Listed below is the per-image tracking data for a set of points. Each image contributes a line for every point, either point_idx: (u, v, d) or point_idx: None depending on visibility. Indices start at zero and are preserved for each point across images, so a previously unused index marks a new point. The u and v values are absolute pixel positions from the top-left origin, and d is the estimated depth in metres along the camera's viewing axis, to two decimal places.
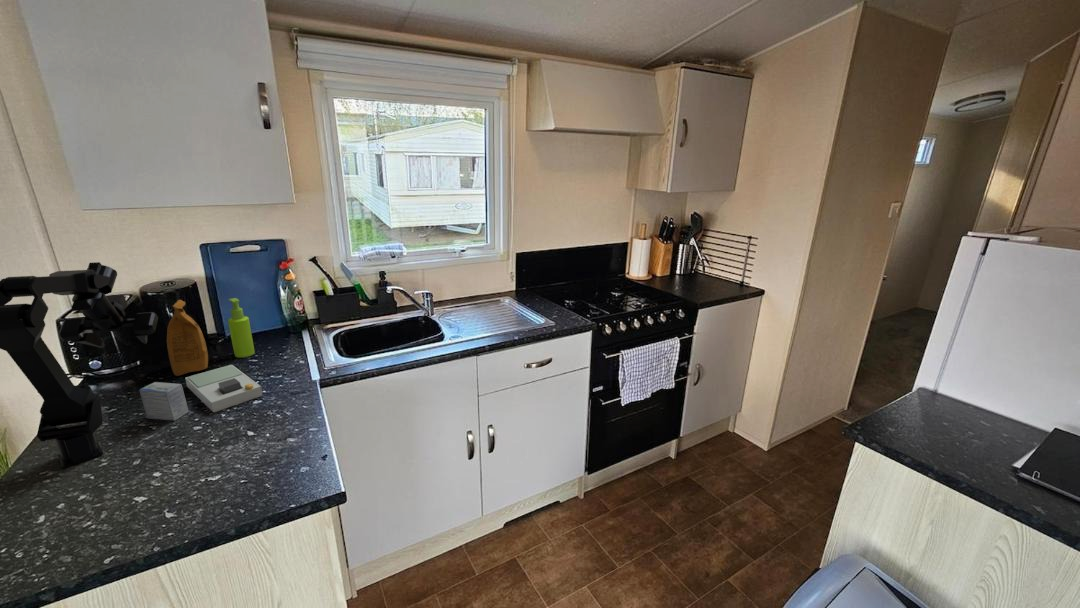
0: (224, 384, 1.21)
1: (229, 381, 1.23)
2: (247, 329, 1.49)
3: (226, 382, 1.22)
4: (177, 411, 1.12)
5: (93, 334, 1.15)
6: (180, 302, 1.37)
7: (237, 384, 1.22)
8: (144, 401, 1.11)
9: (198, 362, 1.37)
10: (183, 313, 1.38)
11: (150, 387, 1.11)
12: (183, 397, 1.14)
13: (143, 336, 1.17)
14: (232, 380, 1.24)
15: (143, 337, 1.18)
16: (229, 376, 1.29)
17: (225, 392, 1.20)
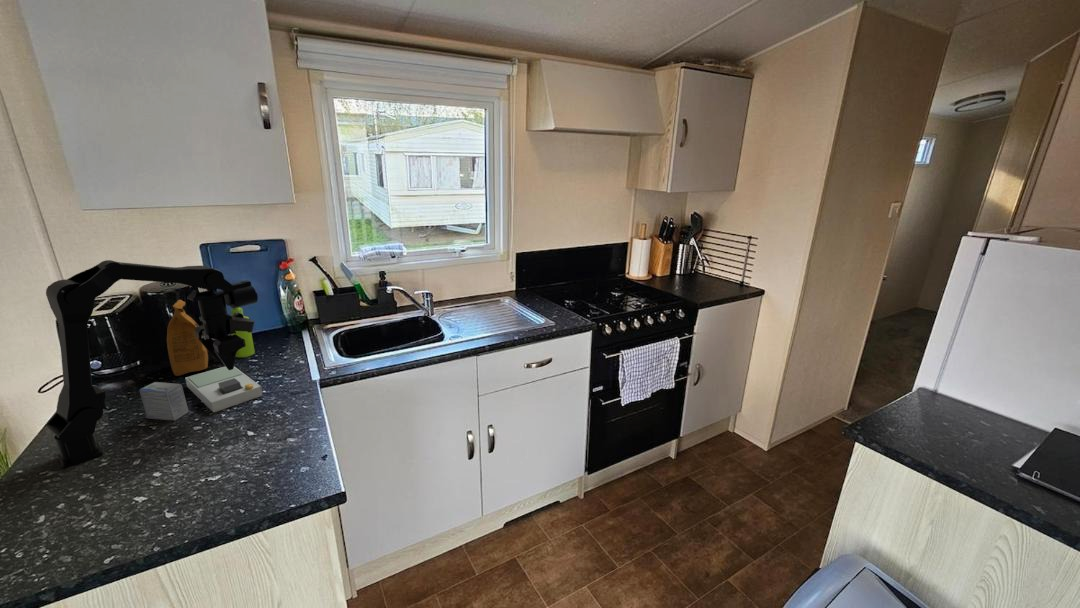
0: (224, 384, 1.21)
1: (229, 381, 1.23)
2: None
3: (226, 382, 1.22)
4: (177, 411, 1.12)
5: None
6: (180, 302, 1.37)
7: (237, 384, 1.22)
8: (144, 401, 1.11)
9: (198, 362, 1.37)
10: (183, 313, 1.38)
11: (150, 387, 1.11)
12: (183, 397, 1.14)
13: (217, 354, 1.14)
14: (232, 380, 1.24)
15: (218, 356, 1.14)
16: (229, 376, 1.29)
17: (225, 392, 1.20)
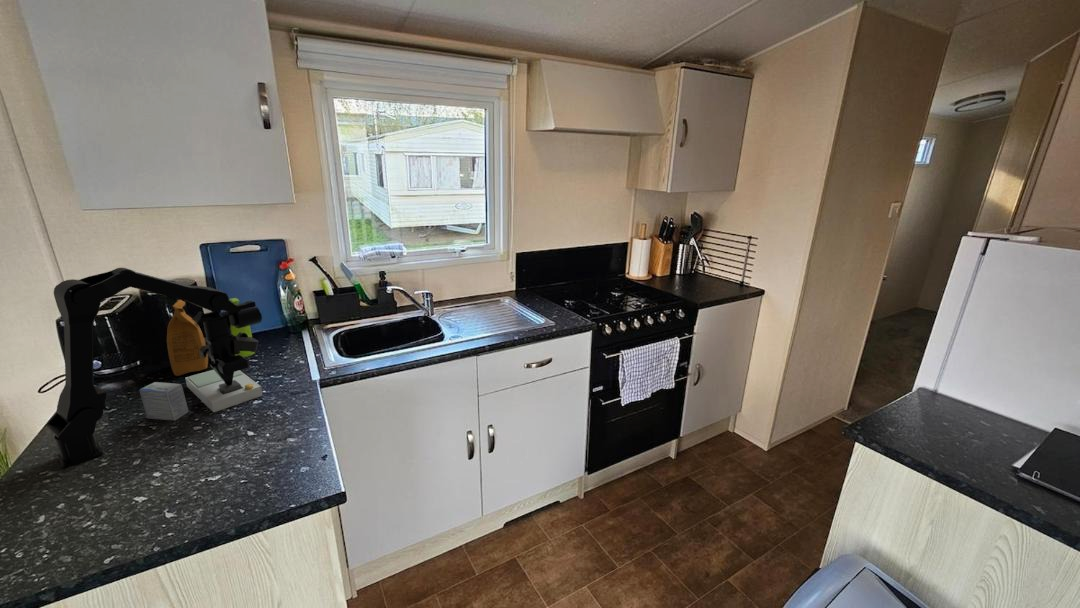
0: (225, 385, 1.22)
1: None
2: (247, 329, 1.49)
3: None
4: (177, 411, 1.12)
5: None
6: (180, 302, 1.37)
7: (237, 386, 1.22)
8: (144, 401, 1.11)
9: (198, 362, 1.37)
10: (183, 313, 1.38)
11: (150, 387, 1.11)
12: (183, 397, 1.14)
13: (216, 370, 1.17)
14: (232, 382, 1.24)
15: (217, 372, 1.18)
16: None
17: None
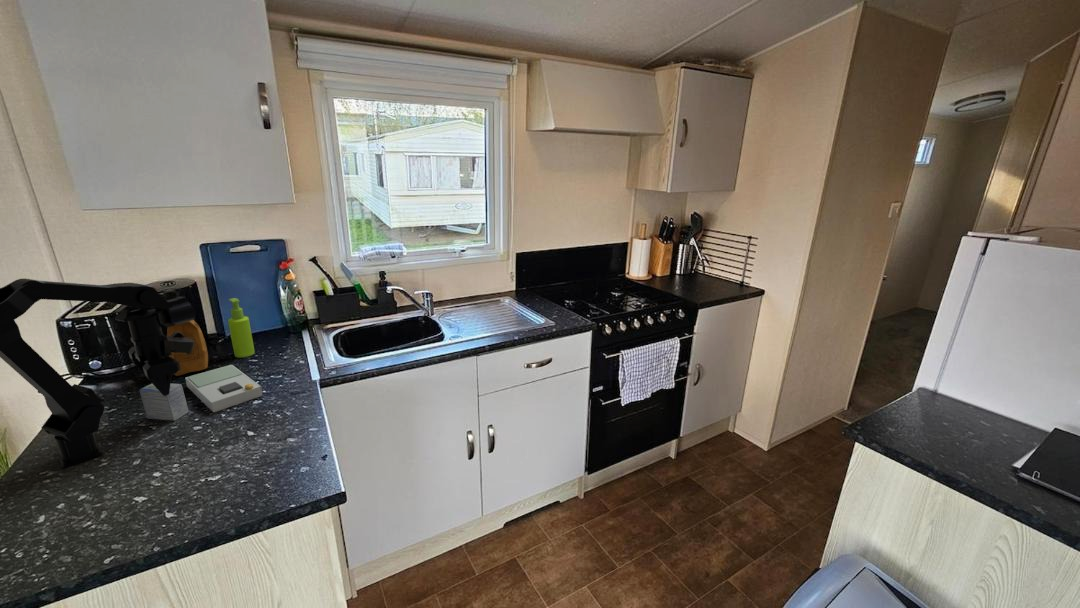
0: (225, 387, 1.22)
1: (230, 385, 1.23)
2: (247, 329, 1.49)
3: (226, 386, 1.23)
4: (177, 411, 1.12)
5: None
6: None
7: (238, 388, 1.23)
8: (144, 401, 1.11)
9: (198, 362, 1.37)
10: None
11: (150, 387, 1.11)
12: (183, 397, 1.14)
13: None
14: (233, 384, 1.24)
15: None
16: (229, 376, 1.29)
17: None
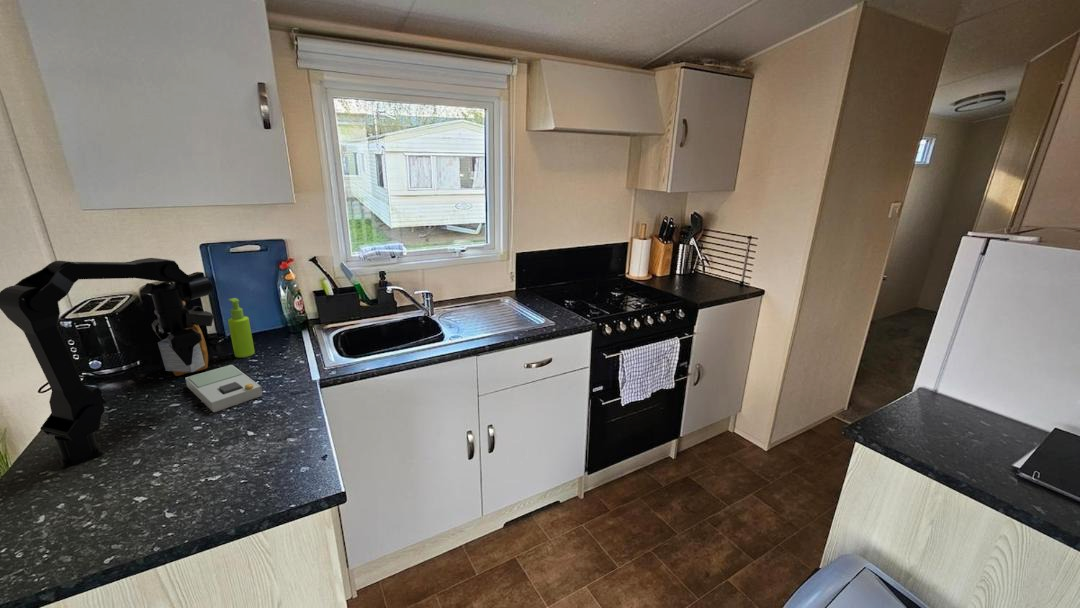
0: (225, 387, 1.22)
1: (230, 385, 1.23)
2: (247, 329, 1.49)
3: (226, 386, 1.23)
4: (194, 364, 1.17)
5: None
6: None
7: (238, 388, 1.23)
8: (162, 353, 1.15)
9: None
10: None
11: None
12: (199, 350, 1.18)
13: (172, 349, 1.10)
14: (233, 384, 1.24)
15: (174, 351, 1.11)
16: (229, 376, 1.29)
17: None
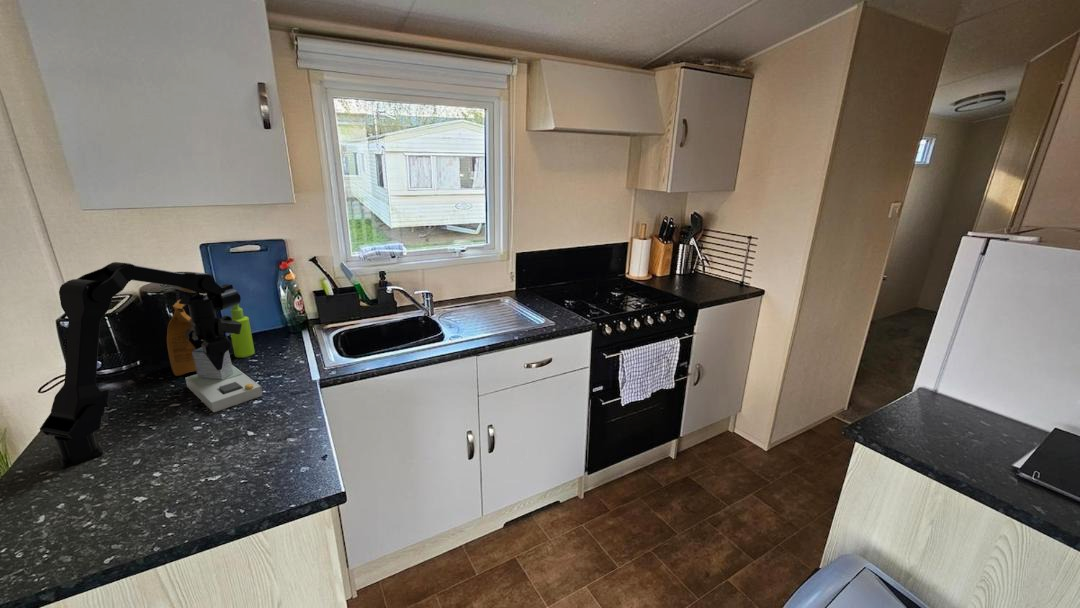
0: (225, 387, 1.22)
1: (230, 385, 1.23)
2: (247, 329, 1.49)
3: (226, 386, 1.23)
4: (224, 371, 1.27)
5: None
6: None
7: (238, 388, 1.23)
8: (196, 362, 1.26)
9: None
10: (183, 313, 1.38)
11: (201, 350, 1.26)
12: (229, 359, 1.29)
13: (206, 355, 1.20)
14: (233, 384, 1.24)
15: (207, 357, 1.21)
16: (229, 376, 1.29)
17: None
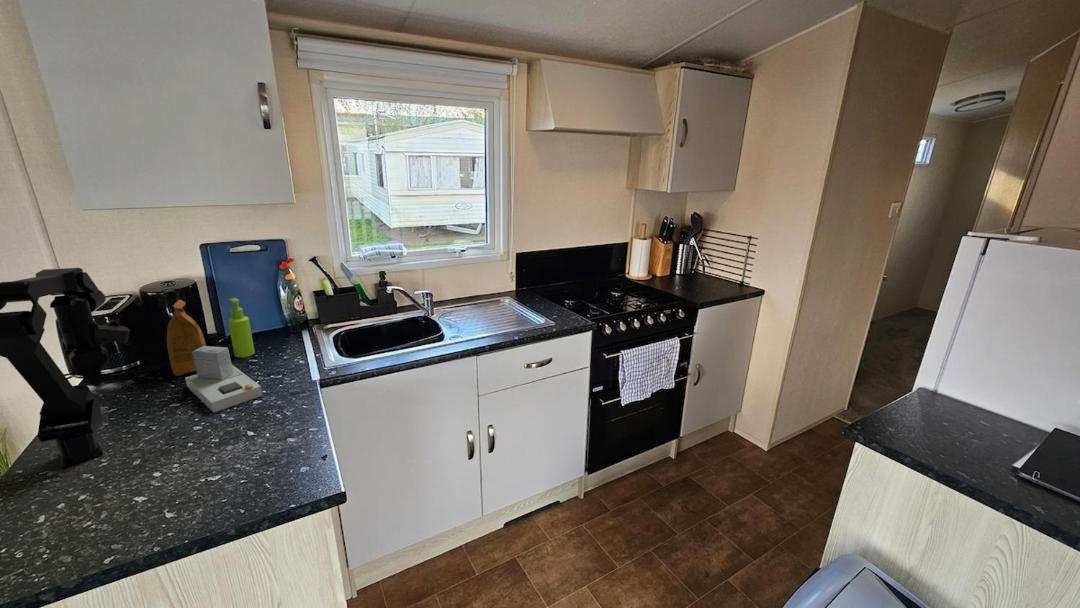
0: (225, 387, 1.22)
1: (230, 385, 1.23)
2: (247, 329, 1.49)
3: (226, 386, 1.23)
4: (224, 371, 1.27)
5: None
6: (180, 302, 1.37)
7: (238, 388, 1.23)
8: (196, 362, 1.26)
9: None
10: (183, 313, 1.38)
11: (201, 350, 1.26)
12: (229, 359, 1.29)
13: None
14: (233, 384, 1.24)
15: (77, 370, 1.00)
16: (229, 376, 1.29)
17: None
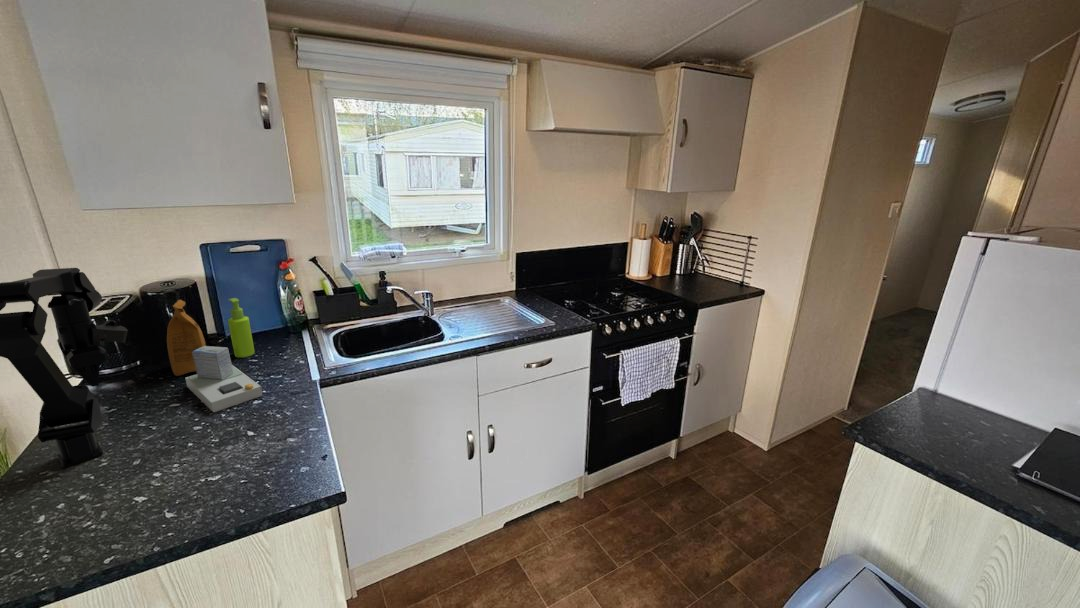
0: (225, 387, 1.22)
1: (230, 385, 1.23)
2: (247, 329, 1.49)
3: (226, 386, 1.23)
4: (224, 371, 1.27)
5: None
6: (180, 302, 1.37)
7: (238, 388, 1.23)
8: (196, 362, 1.26)
9: None
10: (183, 313, 1.38)
11: (201, 350, 1.26)
12: (229, 359, 1.29)
13: (73, 368, 0.99)
14: (233, 384, 1.24)
15: None
16: (229, 376, 1.29)
17: None
